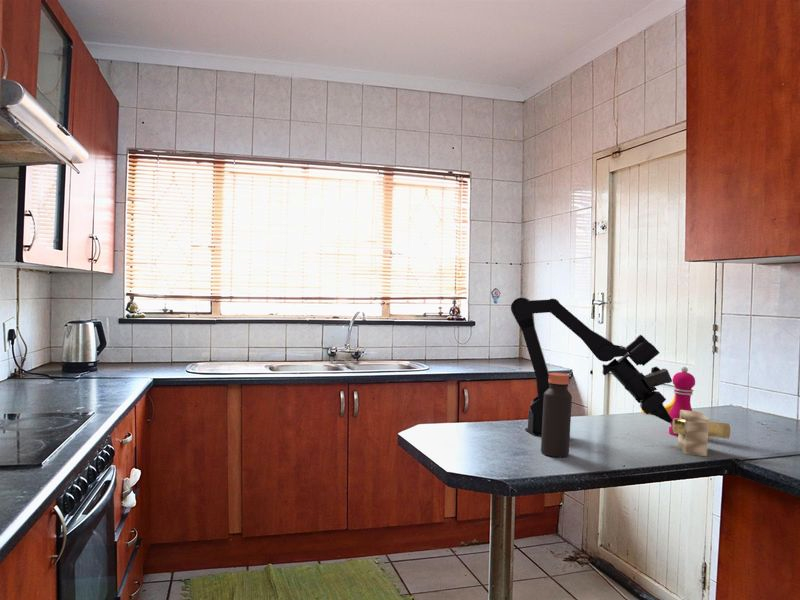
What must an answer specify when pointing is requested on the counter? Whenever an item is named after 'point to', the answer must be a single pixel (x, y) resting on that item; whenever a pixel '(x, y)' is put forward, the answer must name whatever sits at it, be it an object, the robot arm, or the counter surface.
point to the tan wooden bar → (714, 430)
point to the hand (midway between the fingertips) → (671, 421)
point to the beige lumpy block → (694, 433)
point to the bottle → (556, 416)
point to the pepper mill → (681, 395)
